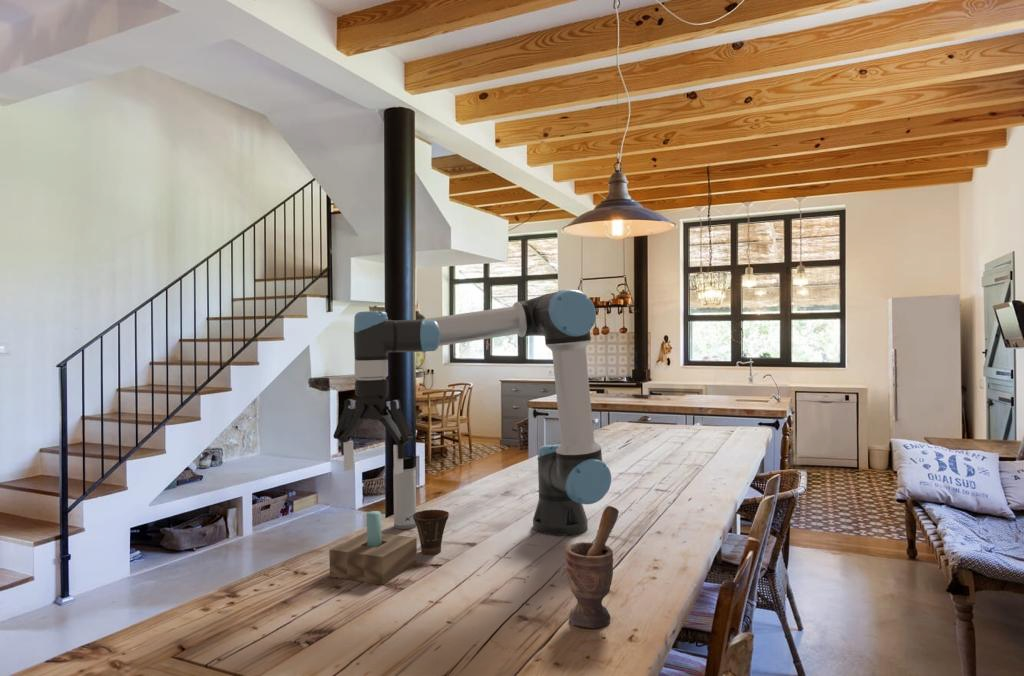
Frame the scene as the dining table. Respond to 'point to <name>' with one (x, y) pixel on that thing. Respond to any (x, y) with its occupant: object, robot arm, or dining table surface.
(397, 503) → the travel mug
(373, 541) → the dowel
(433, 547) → the cup
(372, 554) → the socket block
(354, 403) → the robot arm
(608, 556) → the mortar and pestle
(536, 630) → the dining table surface
